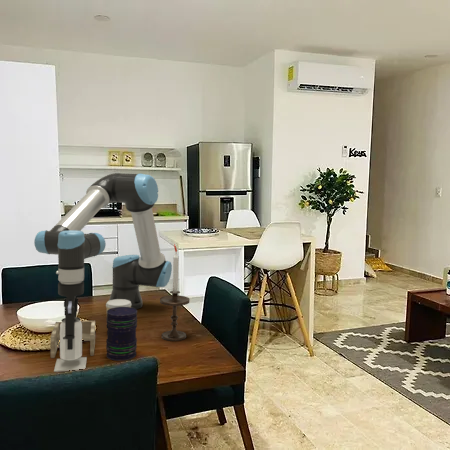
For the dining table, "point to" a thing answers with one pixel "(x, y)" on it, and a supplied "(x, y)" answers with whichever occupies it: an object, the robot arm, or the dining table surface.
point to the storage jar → (121, 333)
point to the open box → (87, 335)
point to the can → (77, 339)
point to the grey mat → (70, 364)
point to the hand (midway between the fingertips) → (71, 354)
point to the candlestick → (174, 304)
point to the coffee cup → (117, 303)
